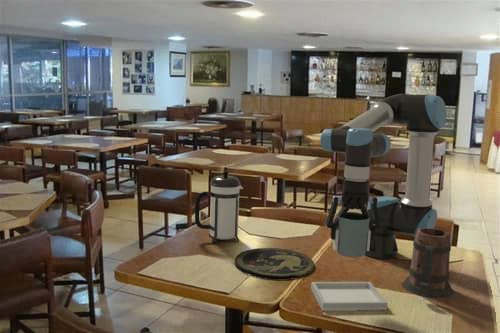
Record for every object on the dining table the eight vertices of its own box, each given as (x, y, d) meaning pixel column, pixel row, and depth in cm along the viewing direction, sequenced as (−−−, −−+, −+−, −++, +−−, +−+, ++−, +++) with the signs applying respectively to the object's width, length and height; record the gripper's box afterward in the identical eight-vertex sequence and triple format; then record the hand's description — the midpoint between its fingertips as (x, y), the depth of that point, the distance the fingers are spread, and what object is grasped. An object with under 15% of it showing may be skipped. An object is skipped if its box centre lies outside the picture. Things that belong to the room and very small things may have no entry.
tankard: (405, 274, 181) (410, 221, 178) (455, 284, 174) (461, 229, 171) (395, 299, 160) (400, 239, 157) (451, 310, 153) (458, 248, 150)
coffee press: (219, 231, 225) (221, 165, 220) (247, 238, 216) (250, 170, 211) (193, 240, 211) (194, 170, 206) (222, 248, 202) (224, 175, 197)
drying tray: (369, 288, 167) (370, 281, 167) (386, 310, 151) (387, 302, 151) (311, 289, 165) (311, 281, 165) (322, 311, 149) (323, 303, 149)
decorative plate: (226, 270, 175) (243, 243, 204) (225, 275, 175) (243, 248, 204) (311, 280, 169) (317, 251, 198) (311, 285, 170) (317, 256, 199)
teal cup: (370, 259, 151) (373, 220, 149) (336, 257, 151) (339, 219, 149) (363, 248, 161) (365, 212, 159) (331, 246, 161) (334, 210, 159)
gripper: (386, 177, 157) (380, 245, 160) (317, 175, 154) (313, 245, 158) (395, 182, 149) (389, 253, 153) (323, 180, 147) (318, 253, 151)
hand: (350, 249), depth 155 cm, fingers closed on teal cup, 9 cm apart
